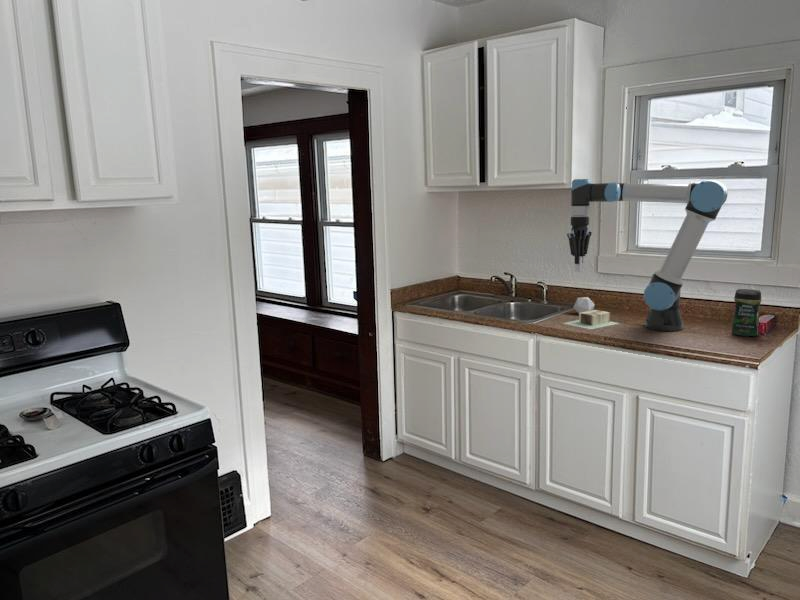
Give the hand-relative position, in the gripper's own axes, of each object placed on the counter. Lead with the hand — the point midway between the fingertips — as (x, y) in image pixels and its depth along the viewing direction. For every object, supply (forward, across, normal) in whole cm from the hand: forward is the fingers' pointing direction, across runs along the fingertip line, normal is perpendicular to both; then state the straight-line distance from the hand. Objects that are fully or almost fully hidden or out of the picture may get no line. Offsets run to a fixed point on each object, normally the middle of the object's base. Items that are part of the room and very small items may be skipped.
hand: (578, 271), depth 281 cm
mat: (+24, -9, 0) cm, 26 cm away
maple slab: (+22, -6, 0) cm, 22 cm away
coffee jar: (+25, -40, +52) cm, 70 cm away
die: (+25, -23, -16) cm, 37 cm away
